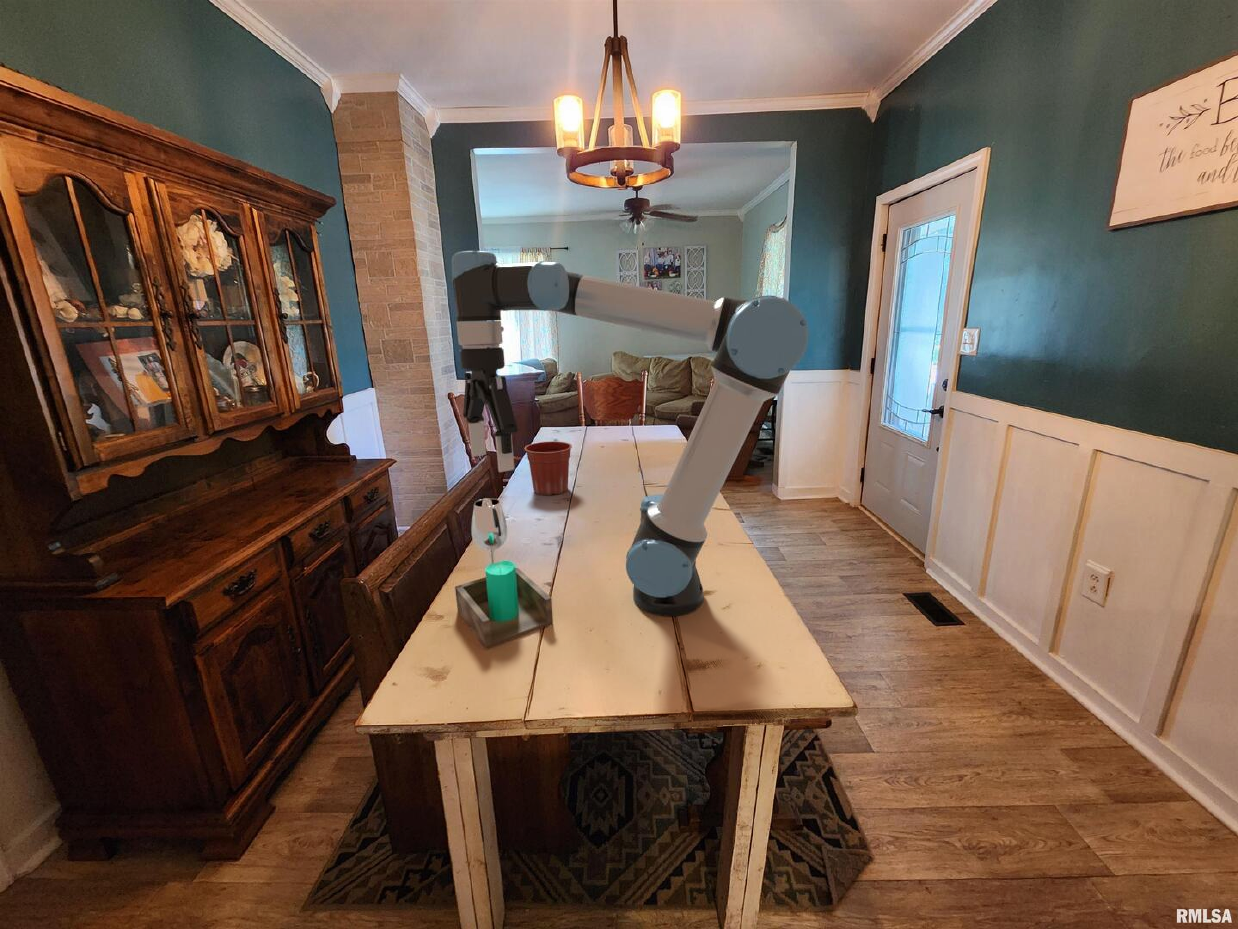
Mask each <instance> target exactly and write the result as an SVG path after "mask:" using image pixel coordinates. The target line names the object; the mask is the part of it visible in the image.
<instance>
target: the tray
mask: <svg viewBox="0 0 1238 929" xmlns="http://www.w3.org/2000/svg"><path fill="white" fill-rule="evenodd" d="M515 569H516V581H517V594H518V607H519V614H518V615H517V616H516V617H515V618H513V619H511V620H509V621H503V622H499V621H494V620H492V619H491V618H490V614H489V604H488V594H487V583H486V576H485V577H482V578H479V579H475V580H472V581H469V582H465V583H463V584H458V585H456V586H454V591H455V597H456V598H455V599H456V607H457V608H456V609H457V612H458V614H459V616H460V617H462V619H463V621H465V623H466V624H467V626H468V627H469V629H470V630H471V631H472V633H473V634H474V636H475V637H476V638H477V639H478V641H479V642H480V643H481V645H482V647H484V649H485V650H488V649H490V648H493V647H495V646H497V645H501V644H503V643H506V642H508V641H512V640H514V639H516V638H519V637H522V636H525V635H527V634H530V633H533V632H535V631H537V630H541V629H543V628H545V627H548V626H550V625H553V623H554V622H553V621H554V618H553V604H552V603H553V602H552V597H551V596H550V595H549V594H548V593H546V592H545V591H544V590H543V589H542V587H540V586H539V585H538V584H536V583H535V582H534V581H533V580H532V579H531V578H530V577H528V575H526V574H525V572H523V571H522V570H521V569H520V568H519V567H515Z"/></svg>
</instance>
